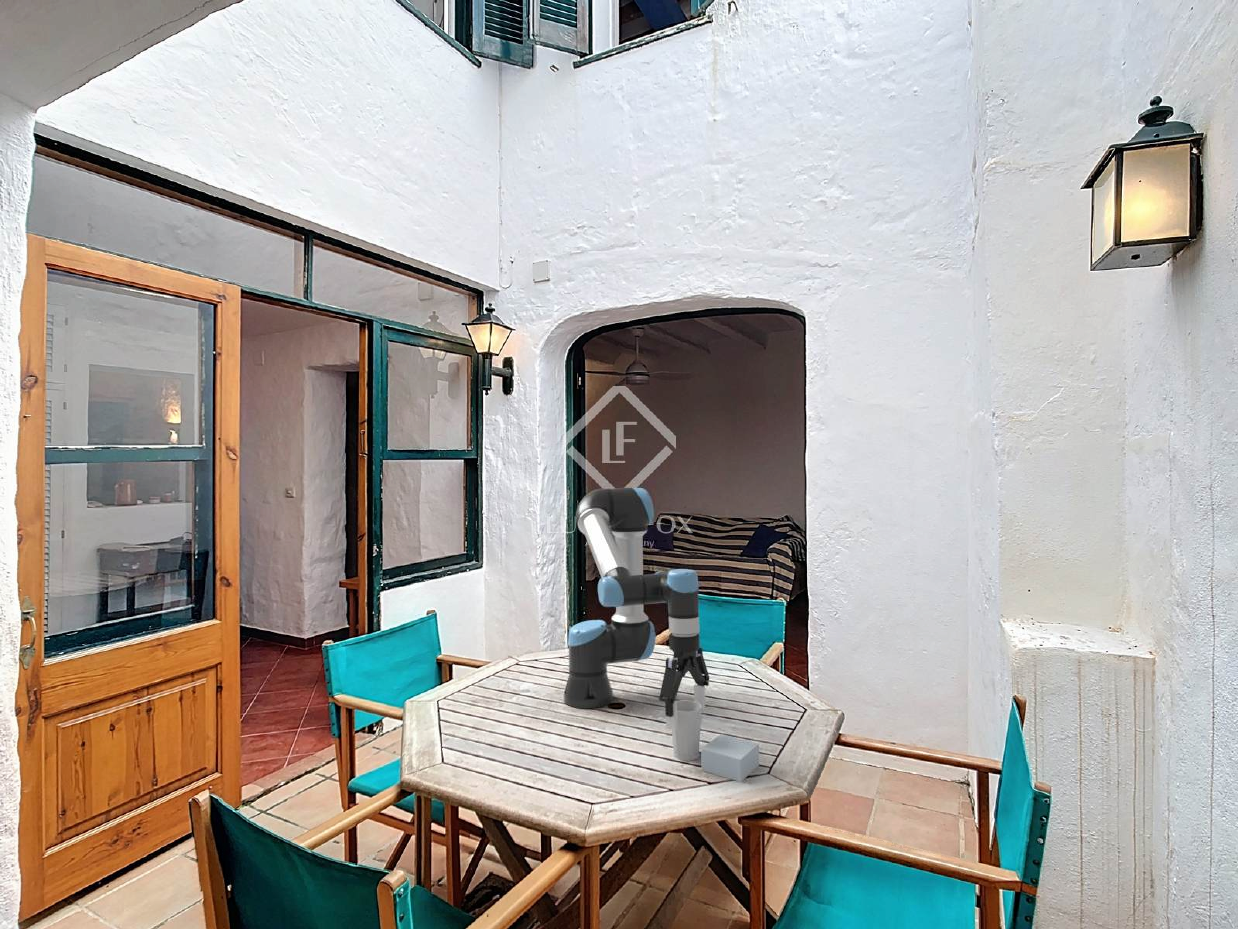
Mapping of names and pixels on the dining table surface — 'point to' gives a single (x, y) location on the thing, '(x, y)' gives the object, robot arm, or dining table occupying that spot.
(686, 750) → the cup
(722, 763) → the pedestal block
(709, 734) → the dining table surface
